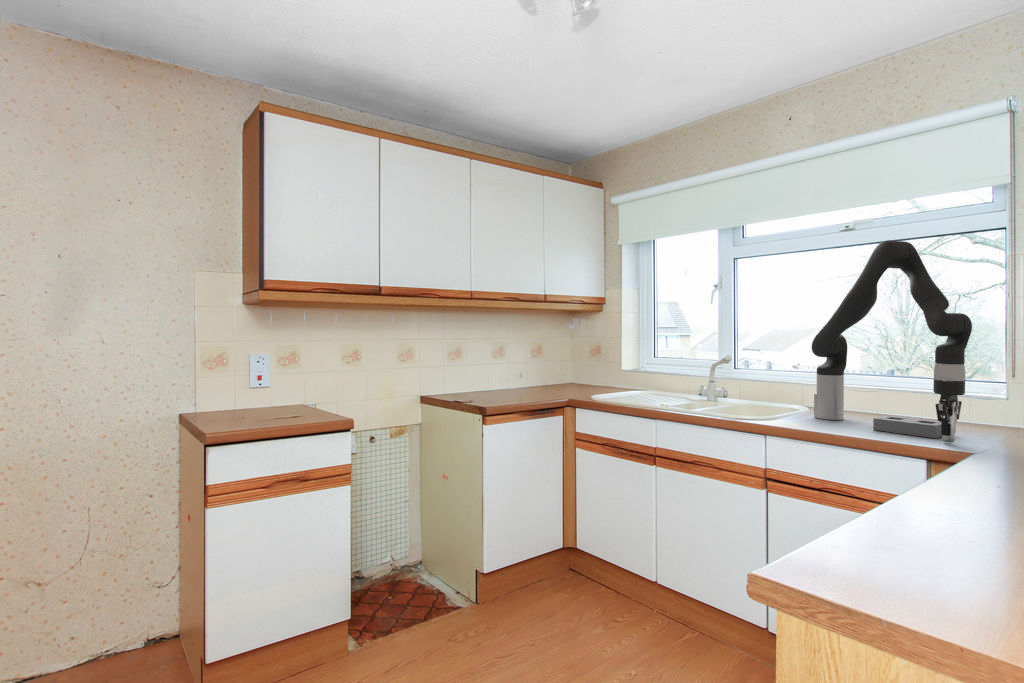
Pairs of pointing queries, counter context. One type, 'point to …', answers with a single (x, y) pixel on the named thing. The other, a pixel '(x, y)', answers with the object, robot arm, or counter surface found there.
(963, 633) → the counter surface
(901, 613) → the counter surface
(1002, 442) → the counter surface
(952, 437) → the steel peg
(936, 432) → the hole block
